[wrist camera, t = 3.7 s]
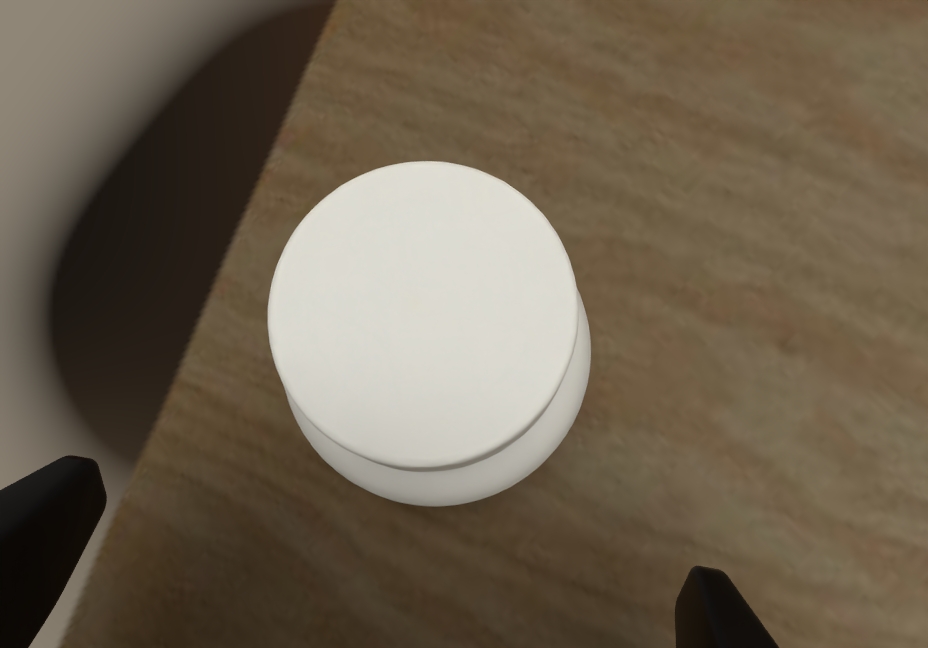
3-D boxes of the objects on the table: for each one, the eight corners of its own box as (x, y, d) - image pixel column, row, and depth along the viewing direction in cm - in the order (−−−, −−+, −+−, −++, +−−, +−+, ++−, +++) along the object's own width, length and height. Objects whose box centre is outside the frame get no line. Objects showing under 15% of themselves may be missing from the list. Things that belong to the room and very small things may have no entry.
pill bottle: (421, 264, 21) (366, 46, 10) (583, 363, 21) (708, 239, 10) (314, 422, 20) (127, 364, 9) (480, 532, 19) (490, 612, 8)
